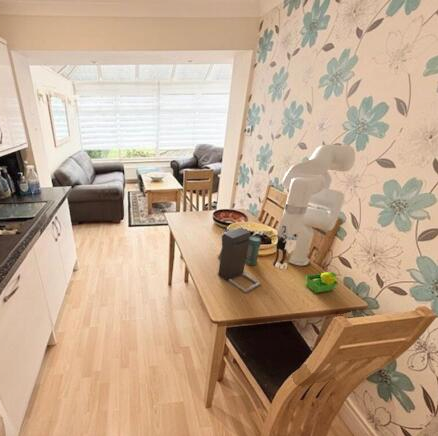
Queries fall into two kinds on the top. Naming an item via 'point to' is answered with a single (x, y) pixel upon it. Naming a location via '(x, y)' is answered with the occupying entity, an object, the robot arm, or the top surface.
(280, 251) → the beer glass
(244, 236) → the coffee maker
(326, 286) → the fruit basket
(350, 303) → the top surface
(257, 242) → the can
